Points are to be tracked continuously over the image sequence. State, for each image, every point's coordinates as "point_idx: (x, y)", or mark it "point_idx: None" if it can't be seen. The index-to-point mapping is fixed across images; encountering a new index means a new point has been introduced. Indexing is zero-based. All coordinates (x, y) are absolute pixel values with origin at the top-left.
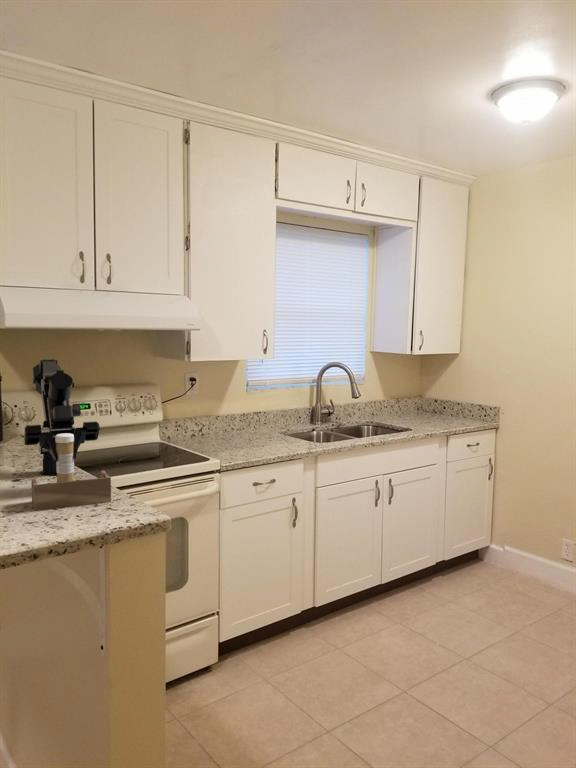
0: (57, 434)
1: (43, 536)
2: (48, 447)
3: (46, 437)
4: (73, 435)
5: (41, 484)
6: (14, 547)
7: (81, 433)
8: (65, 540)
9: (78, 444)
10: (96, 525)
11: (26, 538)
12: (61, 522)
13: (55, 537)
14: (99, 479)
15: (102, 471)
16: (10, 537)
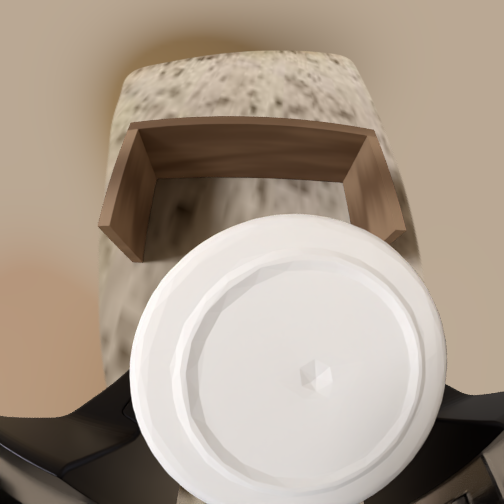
0: (426, 418)
1: (314, 67)
2: None
3: (494, 394)
4: (141, 320)
5: (355, 130)
6: (345, 61)
7: (18, 419)
8: (284, 51)
9: (125, 375)
10: (232, 70)
11: (337, 72)
12: (288, 94)
13: (297, 60)
14: (166, 120)
15: (108, 216)
16: (359, 83)
